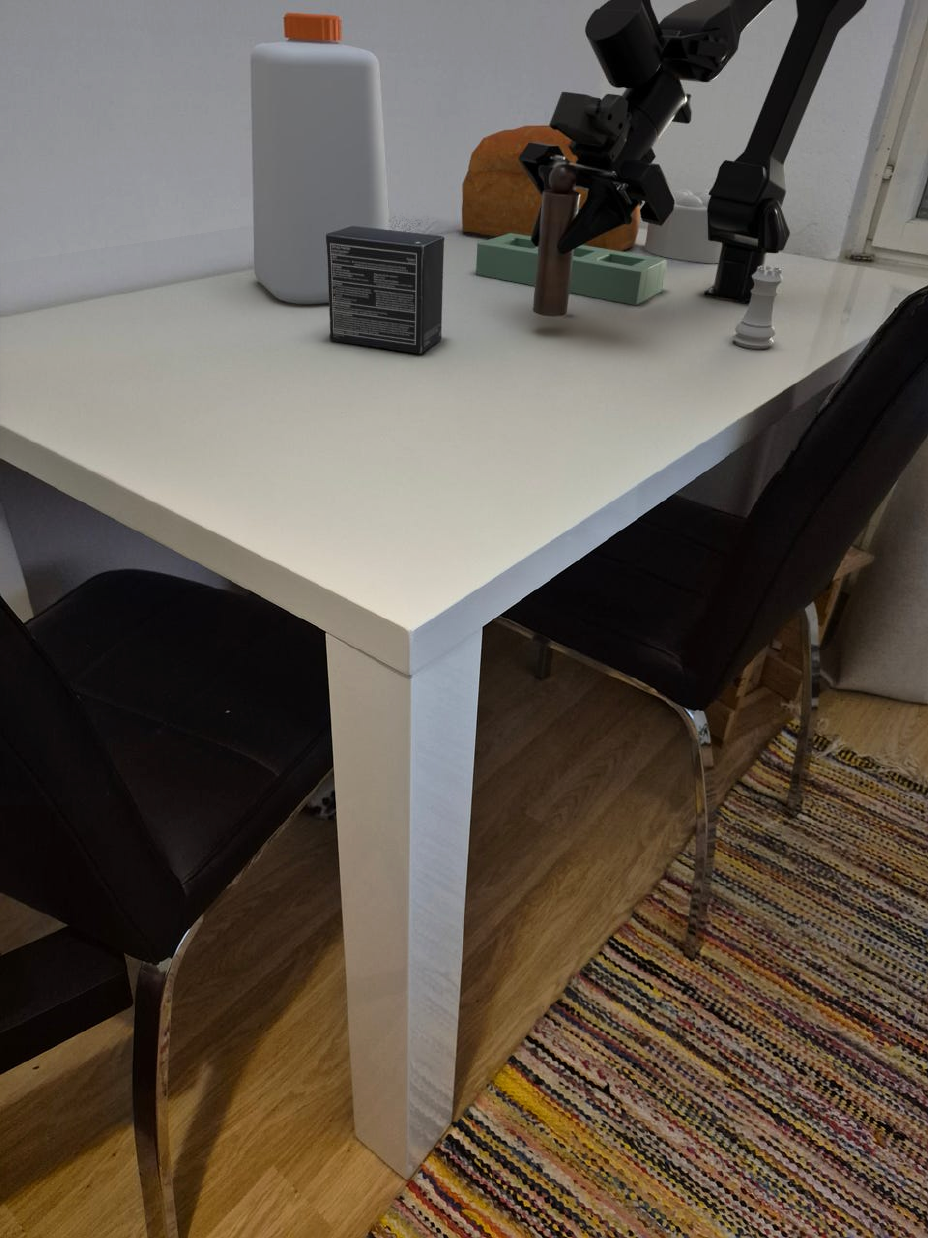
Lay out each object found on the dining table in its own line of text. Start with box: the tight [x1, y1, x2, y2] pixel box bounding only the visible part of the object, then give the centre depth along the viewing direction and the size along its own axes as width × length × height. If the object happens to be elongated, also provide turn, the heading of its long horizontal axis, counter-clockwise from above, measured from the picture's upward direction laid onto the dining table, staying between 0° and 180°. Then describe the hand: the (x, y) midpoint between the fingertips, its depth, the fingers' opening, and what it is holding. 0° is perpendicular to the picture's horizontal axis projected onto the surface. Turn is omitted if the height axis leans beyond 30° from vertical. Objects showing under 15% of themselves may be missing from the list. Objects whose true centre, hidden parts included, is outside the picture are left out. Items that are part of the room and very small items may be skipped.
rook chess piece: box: [732, 265, 784, 350], centre depth 95 cm, size 4×4×8 cm
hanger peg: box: [532, 164, 580, 318], centre depth 92 cm, size 4×4×15 cm
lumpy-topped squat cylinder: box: [644, 187, 722, 264], centre depth 133 cm, size 10×13×9 cm
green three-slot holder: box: [475, 233, 668, 306], centre depth 115 cm, size 9×23×4 cm, turn 59°
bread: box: [461, 124, 642, 252], centre depth 135 cm, size 16×27×16 cm, turn 61°
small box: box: [326, 226, 445, 355], centre depth 89 cm, size 11×6×10 cm, turn 71°
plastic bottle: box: [250, 12, 391, 305], centre depth 100 cm, size 15×15×28 cm
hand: (546, 247), depth 92 cm, fingers closed on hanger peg, 4 cm apart
